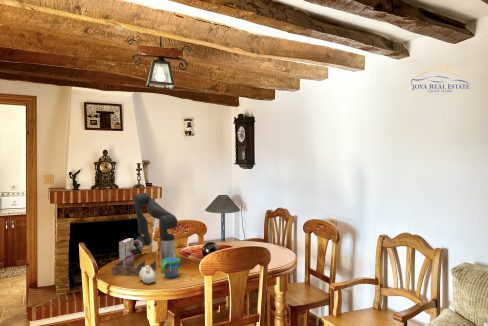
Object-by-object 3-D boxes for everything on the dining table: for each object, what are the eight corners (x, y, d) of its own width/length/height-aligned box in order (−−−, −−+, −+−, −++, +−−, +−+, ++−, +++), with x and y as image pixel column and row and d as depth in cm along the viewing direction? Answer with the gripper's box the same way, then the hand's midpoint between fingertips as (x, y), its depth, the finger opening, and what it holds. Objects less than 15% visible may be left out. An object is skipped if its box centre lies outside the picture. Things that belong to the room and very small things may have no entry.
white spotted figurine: (153, 268, 205) (145, 259, 218) (140, 277, 202) (133, 267, 215) (161, 280, 209) (152, 270, 221) (149, 290, 206) (141, 279, 218)
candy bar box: (127, 261, 252) (127, 238, 251) (134, 262, 251) (134, 238, 250) (118, 266, 241) (118, 241, 240) (125, 267, 240) (125, 242, 239)
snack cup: (174, 271, 230) (174, 255, 230) (186, 274, 224) (186, 258, 224) (155, 278, 218) (155, 260, 218) (167, 281, 212) (167, 264, 211)
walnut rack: (156, 268, 236) (156, 260, 236) (147, 276, 221) (147, 267, 221) (122, 267, 239) (122, 259, 239) (111, 274, 224) (111, 266, 224)
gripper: (125, 240, 261) (115, 246, 244) (145, 240, 259) (135, 246, 243) (125, 251, 261) (115, 257, 244) (145, 251, 259) (135, 257, 243)
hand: (125, 251), depth 244 cm, fingers open, 8 cm apart
